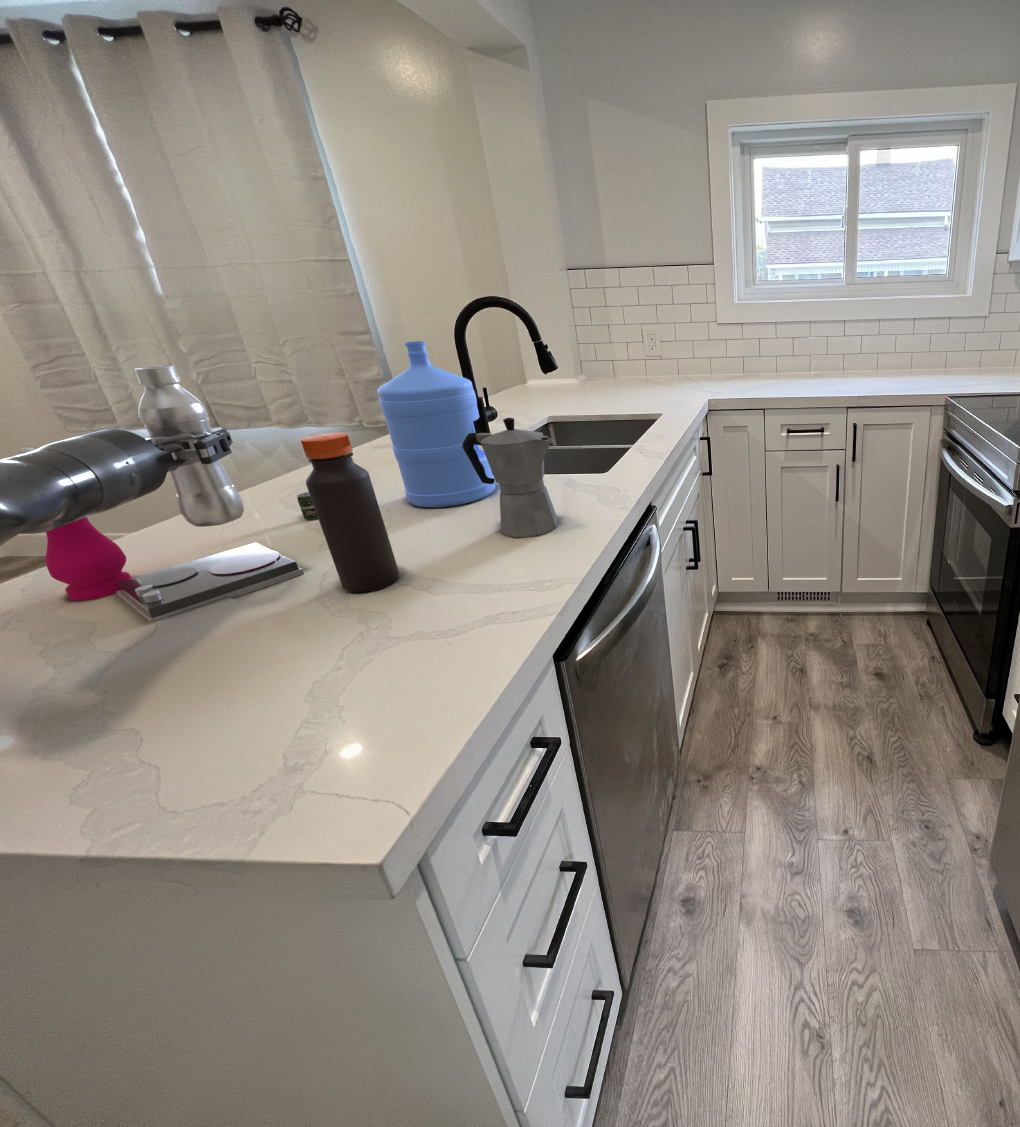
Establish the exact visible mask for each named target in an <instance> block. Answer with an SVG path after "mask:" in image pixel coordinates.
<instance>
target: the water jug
mask: <svg viewBox="0 0 1020 1127" xmlns="http://www.w3.org/2000/svg"><path fill="white" fill-rule="evenodd" d="M404 345H405V346H406V350H407V351H406V354H407V357H408V361H409V367H408V368H407V369H406V370H404V371H403V372H401V373H400V374H398V375H397V376H395V377H393V378H391V379H390V380H388V381H387V382H385V383H384V384H382V385H381V386H379V387H378V389H377V395H378V401H379V406H380V409H381V412H382V414H383V416H384V420H385V423H386V426H387V431H388V433H389V434H388V435H389V437H390V441H391V444H392V450H393V455H394V458H395V460H396V461H397V465H398V469H399V472H400V476H401V479H402V482H403V485H404V493H405V496H406V500H407V501H408V502H409V503H410V504H412V505H414V506H417V507H421V508H428V509H429V508H431V509H432V508H435V509H436V508H449V507H456V506H461V505H465V504H470V503H474V502H477V501H478V500H482V499H484V498H486V497H488V496H490V495H491V494H492V493H493V492H494V491H495V489H496V481H494V483H493V484H485V483H483V482H482V481H481V480H480V478H479V476H478V474H477V473H476V471H475V469H474V467H473V465H472V463H471V462H470V460H469V458H468V456H467V455H466V453H465V451H464V449H463V446H462V445H463V442H464V440H465V438H466V437H467V435H468V434H469V433H476V428H475V423H474V422H475V421H477V420H478V419H479V418H480V413H479V408H478V400H477V396H476V392H475V390H474V386H473V382H472V381H471V380H470V379H469V378H467V377H463V376H461V375H458V374H456V373H452V372H449V371H447V370H444V369H441V368H438V367H435V366H433V365H432V364H431V362H430V359H429V356H428V355H429V353H428V350H427V349H426V342H425V341H424V340H423V341H422V340H420V341H418V340H417V341H416V340H415V341H406V342H404ZM474 448H475V450H476V452H477V454H478V457H479V460H480V462H481V463H482V465H483V466H484V469H485V473H486V476H487V477H489V478H494V476H493V473H492V471H491V468H490V466H489V463H488V460H487V458H486V455H485V453H484V450H483V449H482V448H480V445H474Z"/></svg>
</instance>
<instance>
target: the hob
mask: <svg viewBox="0 0 1020 1127" xmlns="http://www.w3.org/2000/svg"><path fill="white" fill-rule="evenodd" d="M302 575H305V572H304V570H303V568H301V567H300V566H298V563H297V561H295V560H294V559H291V558H289V557H288V556H285V555H283V554H281V553H280V552H279V551H277V550H274V549H271V548H268V547H266V546H264V545H262V544H260V543H258V542H252V543H250V544H246V545H242V546H239V547H235V548H232V549H228V550H225V551H221V552H218V553H214V554H212V555H207V556H205V557H200V558H198V559H194V560H190V561H188V562H183V563H180V564H177V565H174V566H169V567H167V568H163V569H160V570H156V571H153V572H148V573H146V574H142V575H139V576H136V577H131V578H132V579H128V580H125V581H121V582H118V583H116V585H117V587H118V589H119V591H116V594H117V595H118V596H119V597H120V598H121V599H123V600H124V601H125V602H126V603H127V604H128V605H130V606H131V607H132V608H133V609H134V610H135V611H137V612H138V613H139V614H140V615H142V616H143V617H144V618H145V619H146V620H147V621H149V622H150V623H153V622H156V621H160V620H162V619H165V618H168V617H172V616H173V615H174V616H175V615H177V614H179V613H183V612H186V611H188V610H191V609H195V608H199V607H201V606H203V605H207V604H210V603H214V602H215V601H219V600H222V599H224V598H228V597H229V598H230V599H235V598H237V597H240V596H243V595H246V594H250V593H252V592H255V591H258V590H260V589H264V588H267V587H270V586H273V585H275V584H278V583H281V582H284V581H288V580H290V579H293V578H296V577H299V576H302Z"/></svg>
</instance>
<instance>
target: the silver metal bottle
mask: <svg viewBox="0 0 1020 1127" xmlns="http://www.w3.org/2000/svg"><path fill="white" fill-rule="evenodd" d="M134 370H135V371H134V372H135V374H136V376H137V378H138V384H139V385H140V386H143V387H144V392H143V394H142V396H141V398H140V401H139V403H138V408H137V410H138V411H137V413H138V417H139V419H140V422H141V423H142V424H143V425H144V426H143V427H144V428H145V430H146V431H147V433H148V435H150V436H151V437H167V436H172V435H177V434H191V435H192V436H194V435H199V434H202V433H206V432H210V431H212V427H211V424H210V418H209V414H208V411H207V408H206V406H205V405H204V404H203V403H202V401H201V400H200V399H198V397H196V396H194V395H193V394H192V393H190V392H189V391H188V390H186V389H185V388H183V387H182V386H181V384H180V382H181V381H182V380H181V377H180V376H179V375H178V372H177V370H176V367H175V366H174V365H159V366H145V367H136V368H134ZM198 441H199V440H198ZM174 442H176V443H178V444H179V445H180V446H181V447H182V449H183V450H184V448H183V446H182V443H181V442H180V441H174ZM168 473H169V475H170V478H171V481H172V485H173V487H174V490H175V493H176V494H175V496H176V503H177V506H178V510H179V513H180V515H181V516H182V517H183V519H184V520H185V521H186V522H187V523H188V524H190V525H192V526H193V527H198V528H199V527H203V528H204V527H215V526H216V527H217V526H221V525H222V526H223V525H226V524H228V523H231V522H234V521H236V520H238V519H240V518H241V517H242V516H243V514H244V512H245V508H244V501H243V498H242V496H241V495H240V493H239V491H238V489H237V488H236V486H235V485H234V484H233V483H232V481H231V478H230V476H229V475H228V473H227V471H226V469H225V466H224V465H223V463H222V461H221V459H219V460H217V461H215V462H213V463H211V464H201V461H200V462H197V463H193V464H189V465H185V466H181V467H178V469H177V470H174V471H169V472H168Z"/></svg>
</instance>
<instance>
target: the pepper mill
mask: <svg viewBox="0 0 1020 1127" xmlns="http://www.w3.org/2000/svg"><path fill="white" fill-rule="evenodd" d="M34 450H36V448H33V447H27V446H26V447H22V448H20V449H19V450H18V451H17V455H21V454H25V453H28V452H31V451H34ZM45 535H46V539H47V541H46V542H47V543H46V553H45V564H46V565H45V566H46V568H47V571H48V573H49V576H50V577H51V578H53V579H54V580H56V581H58V582H61V583H64V584H67V586H66V587H65V589H64V591H65V593H66V594H67V596H68V598H69V599H70V600H72V601H87V600H88V601H89V600H94V599H100V598H103V597H106V596H109V595H113V594H117V592H116V591H119V589H118V587H117V585H116V583H118V582H121V581H125V580H128V579H132V578H133V577H132V576H131V574H130V573H129V572H128V571H124V570H123V569H124V567H125V565H126V563H127V555H126V554H125V552H124V551H123V550H122V548H121V547H120V546H119V545H118V544H117V543H116V542H114V541H113V540H112V539H110V538H109V537H108V536H106V535H105V534H103V533H102V532H101V531H99V530H98V529H97V528H96V527H95V526H94V525H93V524H92V522H91V521H90V520H89V518H88V516H87V517H85V518H82V519H80V520H77V521H75V522H73V523H70V524H68V525H65V526H63V527H60V528H57V529H54V530H51V531H47V532H45Z"/></svg>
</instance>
